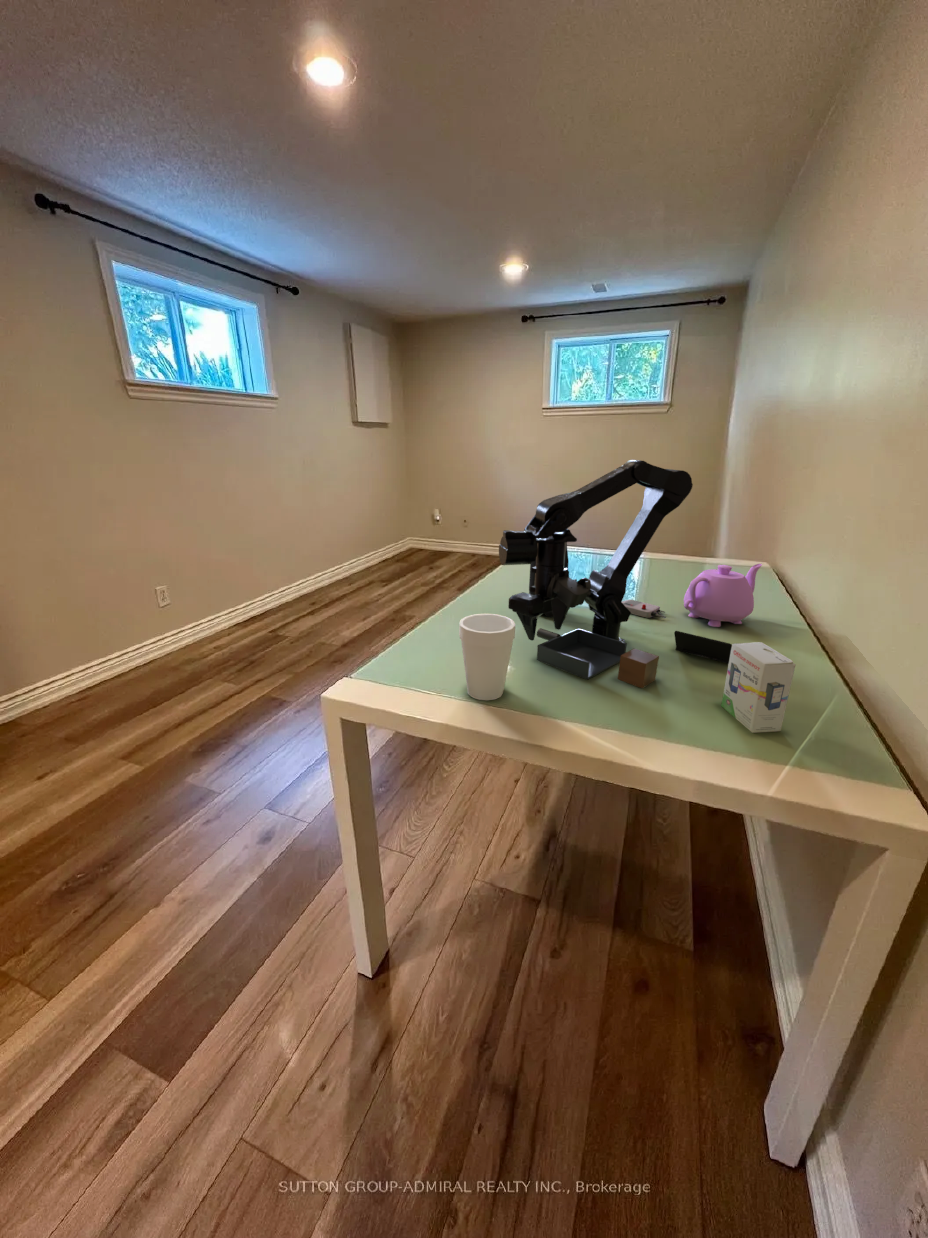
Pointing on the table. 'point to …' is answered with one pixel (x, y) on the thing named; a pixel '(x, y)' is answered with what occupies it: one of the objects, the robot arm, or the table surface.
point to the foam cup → (486, 653)
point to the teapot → (721, 595)
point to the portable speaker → (547, 605)
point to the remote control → (642, 608)
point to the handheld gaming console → (703, 646)
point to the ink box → (757, 686)
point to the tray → (579, 652)
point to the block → (638, 667)
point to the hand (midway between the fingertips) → (544, 634)
